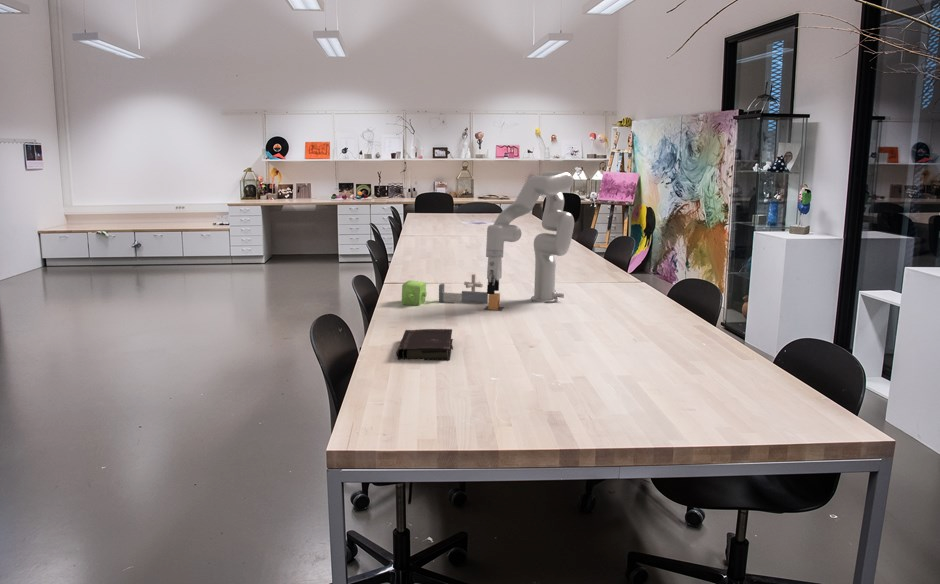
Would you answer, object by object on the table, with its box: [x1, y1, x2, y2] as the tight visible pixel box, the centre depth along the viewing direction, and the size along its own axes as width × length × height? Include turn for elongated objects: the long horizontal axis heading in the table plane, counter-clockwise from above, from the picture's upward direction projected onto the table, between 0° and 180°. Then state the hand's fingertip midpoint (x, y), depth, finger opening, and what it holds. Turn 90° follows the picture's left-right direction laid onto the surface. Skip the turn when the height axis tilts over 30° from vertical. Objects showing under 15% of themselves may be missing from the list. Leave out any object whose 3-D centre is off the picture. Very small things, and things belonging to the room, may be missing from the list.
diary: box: [396, 328, 454, 362], centre depth 246 cm, size 19×25×5 cm
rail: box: [438, 283, 489, 304], centre depth 324 cm, size 22×5×8 cm, turn 77°
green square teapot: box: [401, 280, 428, 306], centre depth 321 cm, size 18×10×10 cm, turn 168°
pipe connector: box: [463, 273, 483, 292], centre depth 342 cm, size 10×10×10 cm
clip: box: [487, 292, 501, 311], centre depth 311 cm, size 4×6×6 cm
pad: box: [482, 305, 505, 312], centre depth 312 cm, size 8×8×1 cm
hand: (492, 292), depth 310 cm, fingers open, 9 cm apart
